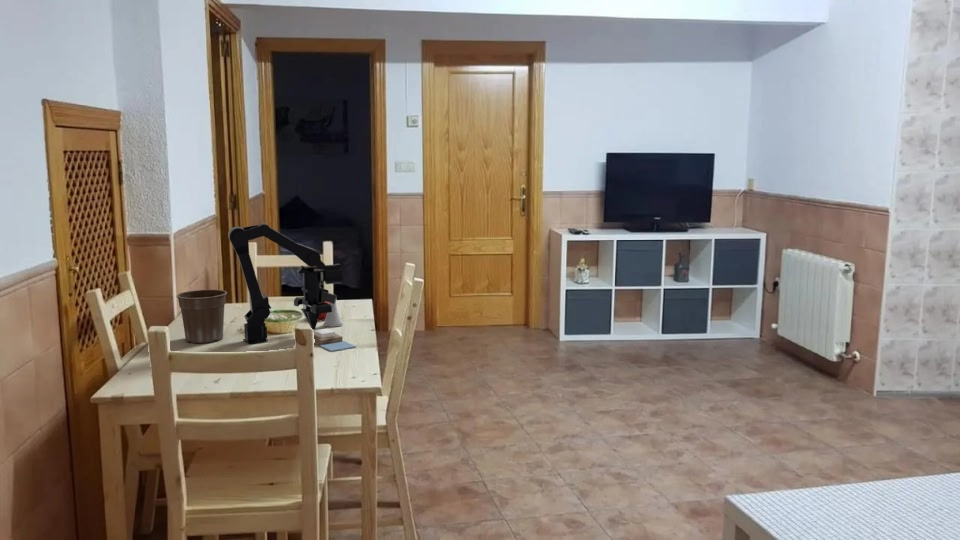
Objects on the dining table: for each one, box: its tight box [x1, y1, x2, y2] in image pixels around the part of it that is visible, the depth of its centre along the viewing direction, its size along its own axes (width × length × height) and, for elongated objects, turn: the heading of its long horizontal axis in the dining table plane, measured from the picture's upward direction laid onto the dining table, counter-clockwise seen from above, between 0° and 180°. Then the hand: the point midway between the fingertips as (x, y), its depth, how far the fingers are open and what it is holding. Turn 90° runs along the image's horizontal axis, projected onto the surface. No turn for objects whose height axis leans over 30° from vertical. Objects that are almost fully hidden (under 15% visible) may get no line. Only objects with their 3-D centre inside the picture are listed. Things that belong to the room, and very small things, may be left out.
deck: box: [314, 333, 343, 346], centre depth 258 cm, size 8×9×2 cm
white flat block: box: [313, 327, 336, 338], centre depth 259 cm, size 5×6×2 cm
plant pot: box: [176, 289, 228, 344], centre depth 260 cm, size 16×16×16 cm
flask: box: [322, 298, 344, 328], centre depth 282 cm, size 7×7×10 cm
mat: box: [319, 341, 357, 353], centre depth 252 cm, size 9×8×1 cm
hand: (313, 329), depth 266 cm, fingers closed
